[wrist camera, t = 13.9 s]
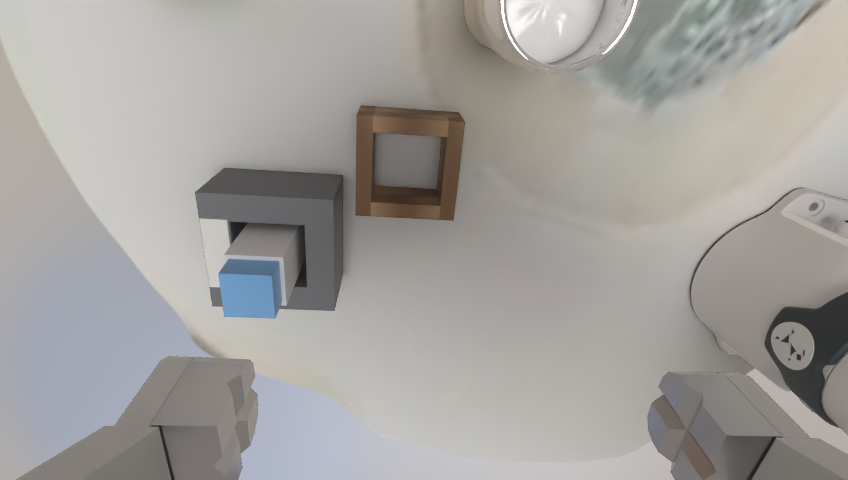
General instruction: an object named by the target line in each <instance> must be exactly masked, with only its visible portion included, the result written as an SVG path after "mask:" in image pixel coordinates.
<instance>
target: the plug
mask: <svg viewBox="0 0 848 480" xmlns="http://www.w3.org/2000/svg"><path fill="white" fill-rule="evenodd" d="M305 258H306V247H305V225H289V224H269V223H250V222H248V223H247V225H246V226H245V227H244V229H243V230H242V231H241V233H240V234H239V235H238V237H237V238H236V239H235V241H234V242H233V243H232V244H231V246H230V247H229V248H228V250H227V251H226V252H225V254H224V260H225V265H224V266H223V267H222V269H221V270H220V272H219V273H218V276H219V283H220V290H221V297H222V304H223V311H224V317H249V318H276V315H277V313H278V310H279V308H280V306H281V305H283V306H287V303H288V301H289V298H290V296H291V293H292V291H293V288H294V286H295V283H296V281H297V278H298V276H299V273H300V271H301V268H302V266H303V263H304V261H305Z"/></svg>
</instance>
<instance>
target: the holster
mask: <svg viewBox="0 0 848 480" xmlns="http://www.w3.org/2000/svg"><path fill="white" fill-rule="evenodd" d="M464 126H465V122H464V120H463V118H462V117H461V115H460V114H459V112H445V111H431V110H418V109H404V108H390V107H376V106H362V105H361V107H360V109H359V111H358V113H357V147H356V215H359V216H377V217H396V218H415V219H433V220H452V221H454V212H455V203H456V195H457V186H458V178H459V169H460V160H461V152H462V143H463V135H464ZM375 132H376V133H391V134H406V135H420V136H435V137H442V141H441V151H440V162H439V172H438V183H437V189H420V188H403V187H386V186H374V158H375Z"/></svg>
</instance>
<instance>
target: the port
mask: <svg viewBox="0 0 848 480" xmlns="http://www.w3.org/2000/svg"><path fill="white" fill-rule="evenodd" d="M195 195H196V201H197V208H198V214H199V221H200V228H201V234H202V241H203V247H204V254H205V260H206V267H207V273H208V280H209V286H210V293H211V300H212V306H221V307H223V304H222V297H221V290H220V283H219V276H218V273H219V272H220V270H221V269H222V267H223V266H224V265H225V260H224V254H225V252H226V251H227V250H228V248H229V247H230V246H231V244H232V243H233V242H234V241H235V239H236V238H237V237H238V235H239V234H240V233H241V231H242V230H243V229H244V227H245V226H246V225H247V223H248V222H250V223H269V224H289V225H305V247H306V258H305V261H304V263H303V266H302V268H301V271H300V273H299V276H298V278H297V281H296V283H295V286H294V288H293V291H292V293H291V296H290V298H289V301H288V303H287V306H283V305H281V306H280V308H279V309H301V310H327V311H335V307H336V302H337V298H338V293H339V289H340V285H341V280H342V276H343V175H331V174H314V173H298V172H281V171H264V170H248V169H231V168H224V169H222V170H221V171H220V172H219V173H218V174H216V175H215V176H214V177H213V178H212V179H210V180H209V181H208V182H207V183H206V184H205V185H203V186H202V187H201V188H200V189H199V190H197V191H196V192H195Z"/></svg>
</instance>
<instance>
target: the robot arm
mask: <svg viewBox="0 0 848 480" xmlns="http://www.w3.org/2000/svg"><path fill="white" fill-rule="evenodd" d="M810 205H811V206H810ZM809 206H810V207H809ZM691 302H692V306H693V309H694V312H695V314H696V315H697V317H698V318H699V319H700V321H701V322H702V323H703V324H705V325H706V326H707V327H708V328H710V329H711V330H712V331H713V332H714V333H715V337H716V340H717V343H718V345H719V347H720V348H721V349H722V350H723V351H725V352H726V353H727V354H729V355H740V356H741V357H742V358H744V359H745V360H746V361H747V362H749V363H750V364H751V365H752V366H753V367H755V368H756V369H757V370H758V371H760V372H761V373H762V374H764V376H766V377H767V378H768V379H769V380H771V381H772V382H773V383H775V384H776V385H777V386H778V387H780V388H781V389H783V390H785V391H792V392H794V394H796V395H797V396H798V397H799V398H800V401H801V402H802V403H803V404H804V405H806V406H807V407H808V408H809V409H810V410H811V411H812V412H815V413H816V414H817V415H819V416H820V417H821V418H822V419H823V420H825V421H826V422H828V423H829V424H831V425H833V426H836V427H839V428H841V429H842V430H843V431H844V432H845V433H847V435H848V201H847V200H843V199H840V198H836V197H833V196H829V195H826V194H823V193H819V192H816V191H812V190H809V189H804V188H800V189H796V190H794V191H792V192H791V193H789V194H788V195H787V196H785V197H784V198H783V199H782V200H780V201H779V202H778V203H777V204H776V205H775V206H774V207H772V208H771V209H770V210H769V211H767V212H766V213H764V214H762V215H760V216H758V217H756V218H753V219H751V220H749V221H747V222H745V223H743V224H741V225H740V226H738V227H736V228H735V229H733V230H732V231H730V232H729V233H728V234H726V235H725V236H724V237H723V238H722V239H720V240H719V241H718V242H717V243H716V244H715V245H714V246H713V247H712V248H711V250H710V251H709V252H708V253H707V255H706V256H705V257H704V259H703V260H702V262H701V263H700V265H699V267H698V269H697V271H696V273H695V276H694V279H693V283H692V288H691ZM254 378H255V371H254V364H253V362H252V361H251V360H247V359H228V358H208V357H179V356H167V357H166V358H164V359H162V360H161V361H160V362H159V364H158V365H157V367H156V368H155V369H154V371H153V372H152V374H151V375H150V376H149V378H148V379H147V380H146V382H145V383H144V385H143V386H142V387H141V389H140V390H139V392H138V393H137V394H136V396H135V397H134V399H133V400H132V402H131V403H130V404H129V406H128V407H127V409H126V410H125V411H124V413H123V414H122V416H121V417H120V419H119V420H118V421H117V423H116V424H115V425H114V426H104V427H102V428H101V429H99V430H98V431H96V432H94V433H92V434H91V435H89V436H87V437H86V438H84V439H82V440H81V441H79V442H77V443H76V444H74V445H72V446H71V447H69V448H68V449H66V450H64V451H62V452H61V453H59V454H58V455H56V456H54V457H53V458H51V459H49V460H48V461H46V462H44V463H43V464H41V465H39V466H38V467H36V468H34V469H33V470H31V471H30V472H28V473H26V474H24V475H23V476H21V477H20V478H18V479H16V480H238V478H239V475H240V473H241V470H242V461H241V453H242V452H243V451H244V450H246V449H247V448H248V447H249V446H250V445H251V441H252V439H253V435H254V433H255V428H256V422H257V417H258V397H257V393H256V392H255V391H254V390H253V389H252V388H251V385H252V383H253V380H254ZM659 389H660V391H661V393H662V396H661V397H659V398H658V399H657V400H655V401H654V402H653V403H652V404H651V407H650V410H649V413H648V430H649V433H650V436H651V439H652V441H653V443H654V445H655V446H656V448H657V450H658V452H659V453H661V454H662V455H663V456H665V457H666V458H667V459H669V460H670V461H672V466H671V473H672V475H673V477H674V479H675V480H848V454H846V453H844V452H842V451H840V450H839V449H837V448H835V447H833V446H832V445H830V444H828V443H826V442H824V441H823V440H821V439H815V438H810V437H809V436H808V435H807V434H806V433H805V432H804V431H803V430H802V429H801V428H800V426H799V425H798V424H796V422H794V420H793V419H792V418H790V416H789V415H788V414H787V413H786V412H785V411H784V410H783V409H782V408H781V407H780V406H779V405H778V404H777V403H776V402H775V401H774V400H773V399H772V398H771V397H770V396H769V395H768V394H767V393H766V392H765V391H764V390H763V389H762V388H761V387H760V386H759V385H758V384H757V383H756V382H755V381H754V380H753V379H752V378H751V377H749V376H747V375H745V374H743V373H720V372H718V373H699V372H668V373H667V374H666V375H664V376H663V377H662V380H661V382H660V384H659Z"/></svg>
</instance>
